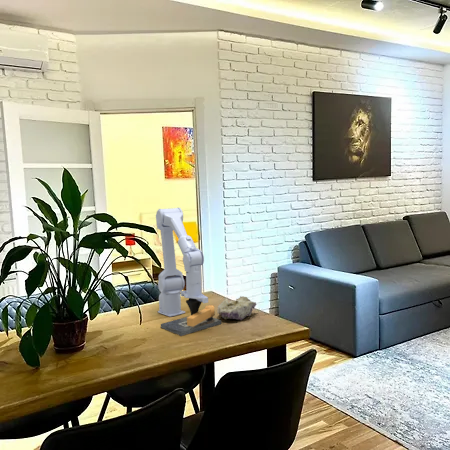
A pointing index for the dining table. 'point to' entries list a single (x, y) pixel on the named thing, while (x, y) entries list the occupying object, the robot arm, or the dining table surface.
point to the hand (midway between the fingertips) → (194, 317)
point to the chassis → (182, 328)
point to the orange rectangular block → (201, 316)
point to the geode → (236, 308)
